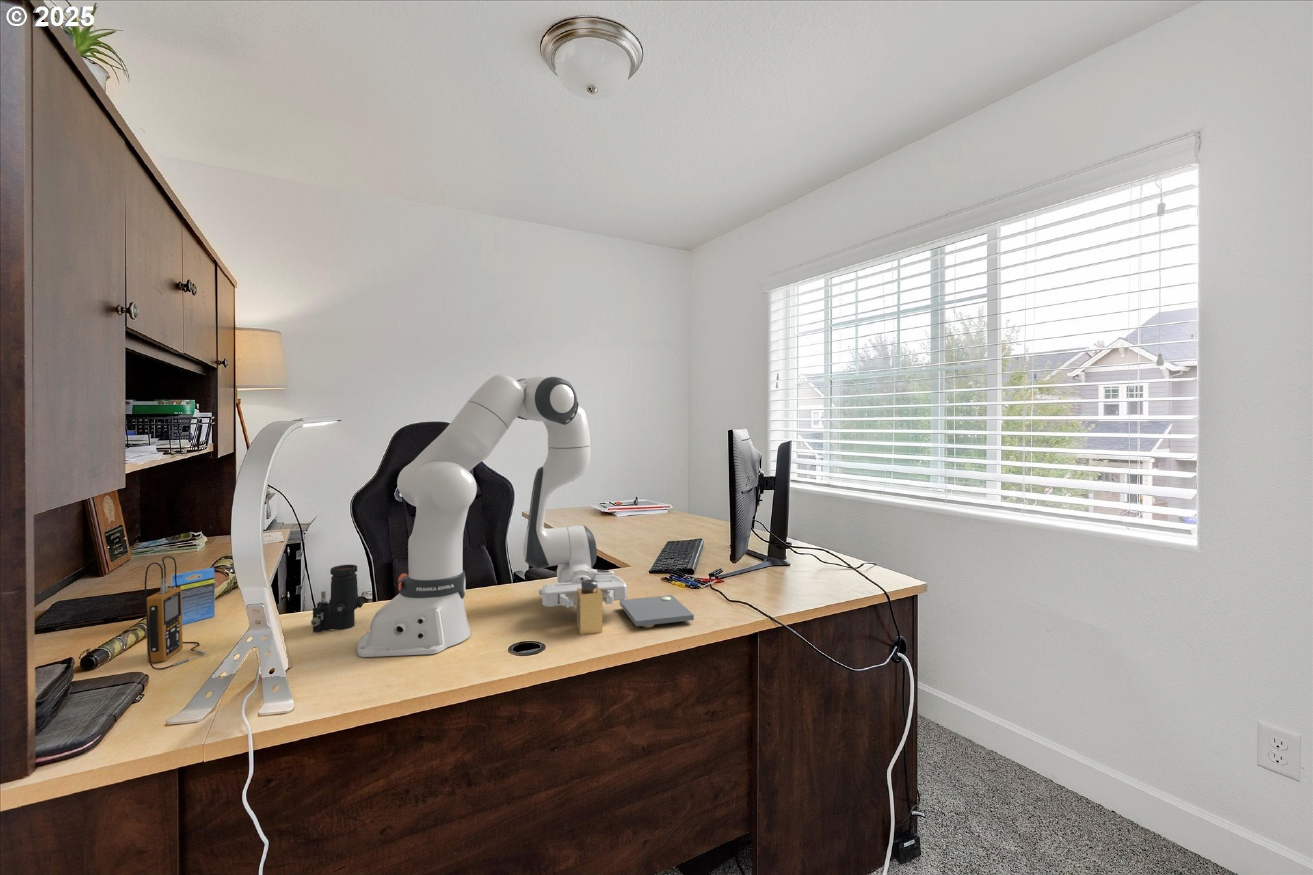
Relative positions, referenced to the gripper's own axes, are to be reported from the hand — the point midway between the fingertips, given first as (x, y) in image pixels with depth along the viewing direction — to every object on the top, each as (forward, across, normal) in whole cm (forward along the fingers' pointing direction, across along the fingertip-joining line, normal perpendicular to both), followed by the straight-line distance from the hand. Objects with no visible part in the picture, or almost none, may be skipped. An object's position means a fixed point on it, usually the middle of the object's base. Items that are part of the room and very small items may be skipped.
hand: (590, 602), depth 127 cm
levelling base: (-5, +17, +6) cm, 19 cm away
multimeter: (-12, -81, +7) cm, 82 cm away
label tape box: (-35, -90, +7) cm, 97 cm away
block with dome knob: (-1, 0, +7) cm, 7 cm away
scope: (-20, -55, +7) cm, 59 cm away
